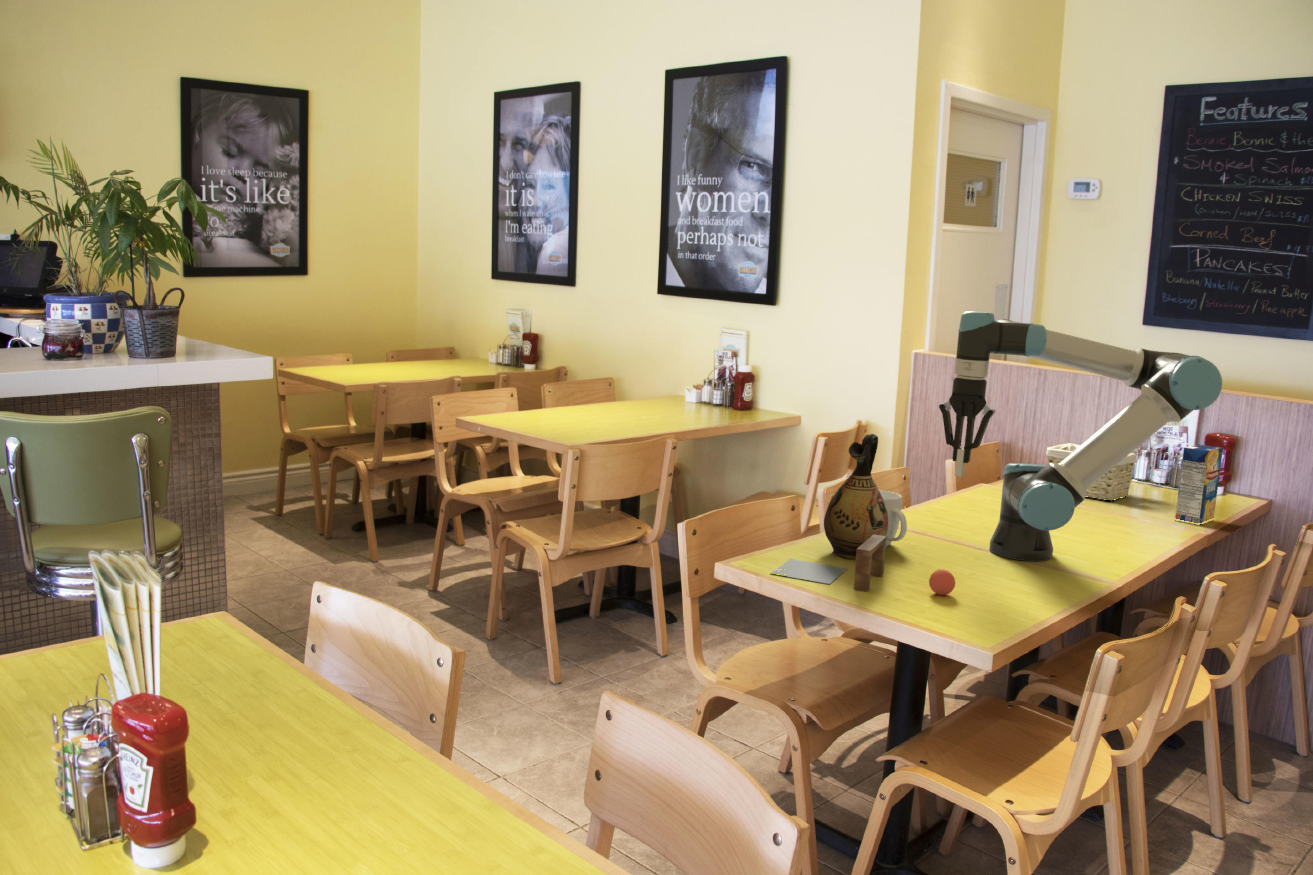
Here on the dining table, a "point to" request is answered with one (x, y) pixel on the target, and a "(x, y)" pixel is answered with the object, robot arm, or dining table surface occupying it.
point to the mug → (894, 516)
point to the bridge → (869, 561)
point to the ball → (942, 582)
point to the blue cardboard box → (1198, 483)
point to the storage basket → (1108, 484)
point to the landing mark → (810, 571)
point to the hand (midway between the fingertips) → (959, 475)
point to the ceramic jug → (856, 504)
